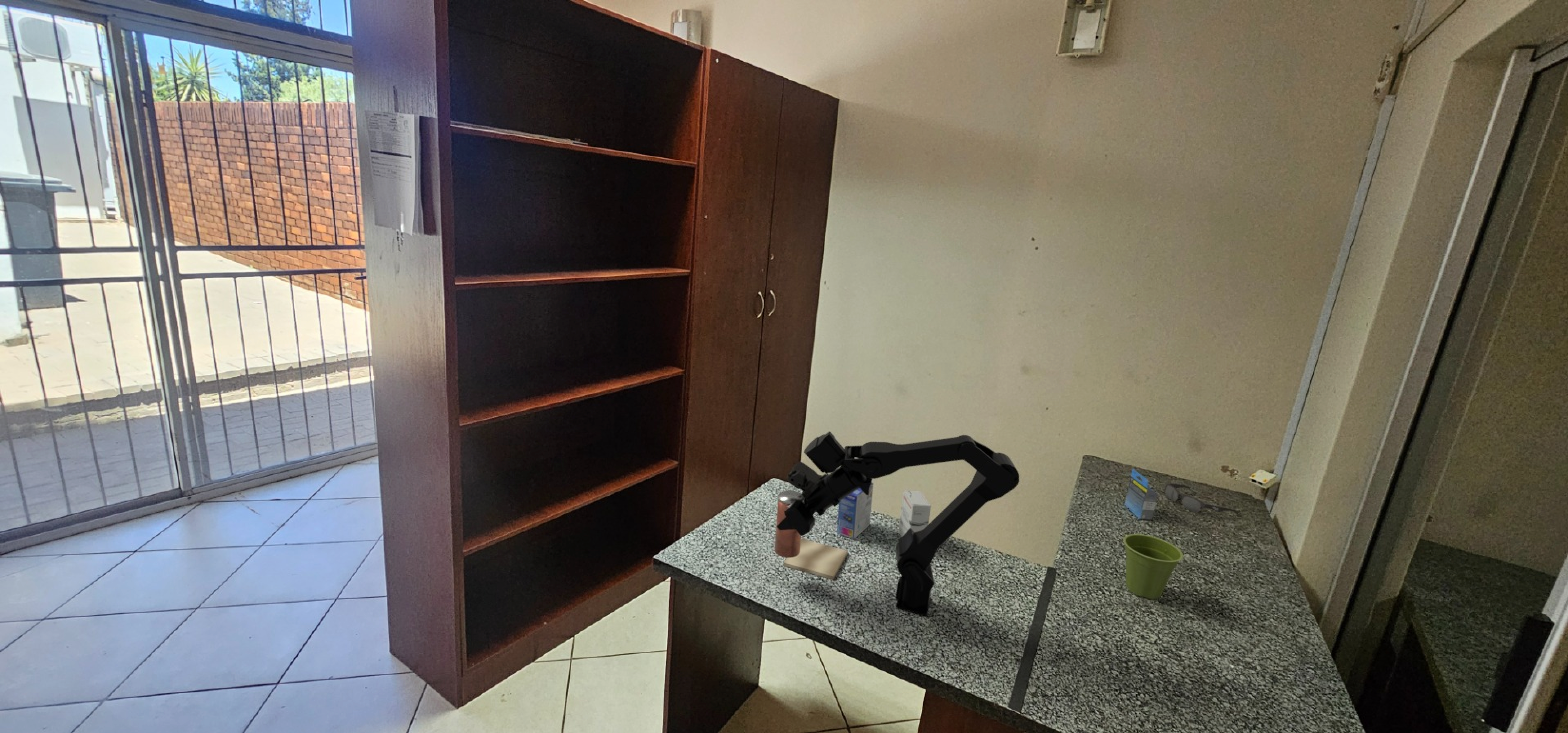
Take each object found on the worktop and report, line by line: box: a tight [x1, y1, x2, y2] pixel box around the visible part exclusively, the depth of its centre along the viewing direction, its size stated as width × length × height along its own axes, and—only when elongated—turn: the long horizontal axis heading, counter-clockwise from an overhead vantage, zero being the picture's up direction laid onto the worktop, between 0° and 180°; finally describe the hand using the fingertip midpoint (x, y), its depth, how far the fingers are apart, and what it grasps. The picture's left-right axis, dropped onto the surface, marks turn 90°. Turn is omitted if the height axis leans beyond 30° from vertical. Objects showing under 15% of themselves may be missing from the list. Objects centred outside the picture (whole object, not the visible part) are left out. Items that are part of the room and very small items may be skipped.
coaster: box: [783, 538, 849, 580], centre depth 144 cm, size 12×12×1 cm
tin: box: [774, 490, 805, 559], centre depth 132 cm, size 6×6×13 cm
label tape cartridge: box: [1124, 467, 1159, 521], centre depth 179 cm, size 9×4×12 cm, turn 179°
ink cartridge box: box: [836, 482, 874, 540], centre depth 157 cm, size 10×6×14 cm, turn 148°
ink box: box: [897, 490, 932, 538], centre depth 155 cm, size 9×5×12 cm, turn 6°
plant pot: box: [1122, 533, 1184, 600], centre depth 140 cm, size 12×12×11 cm
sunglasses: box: [1164, 482, 1240, 515], centre depth 190 cm, size 16×17×5 cm
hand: (783, 521), depth 133 cm, fingers closed on tin, 6 cm apart
